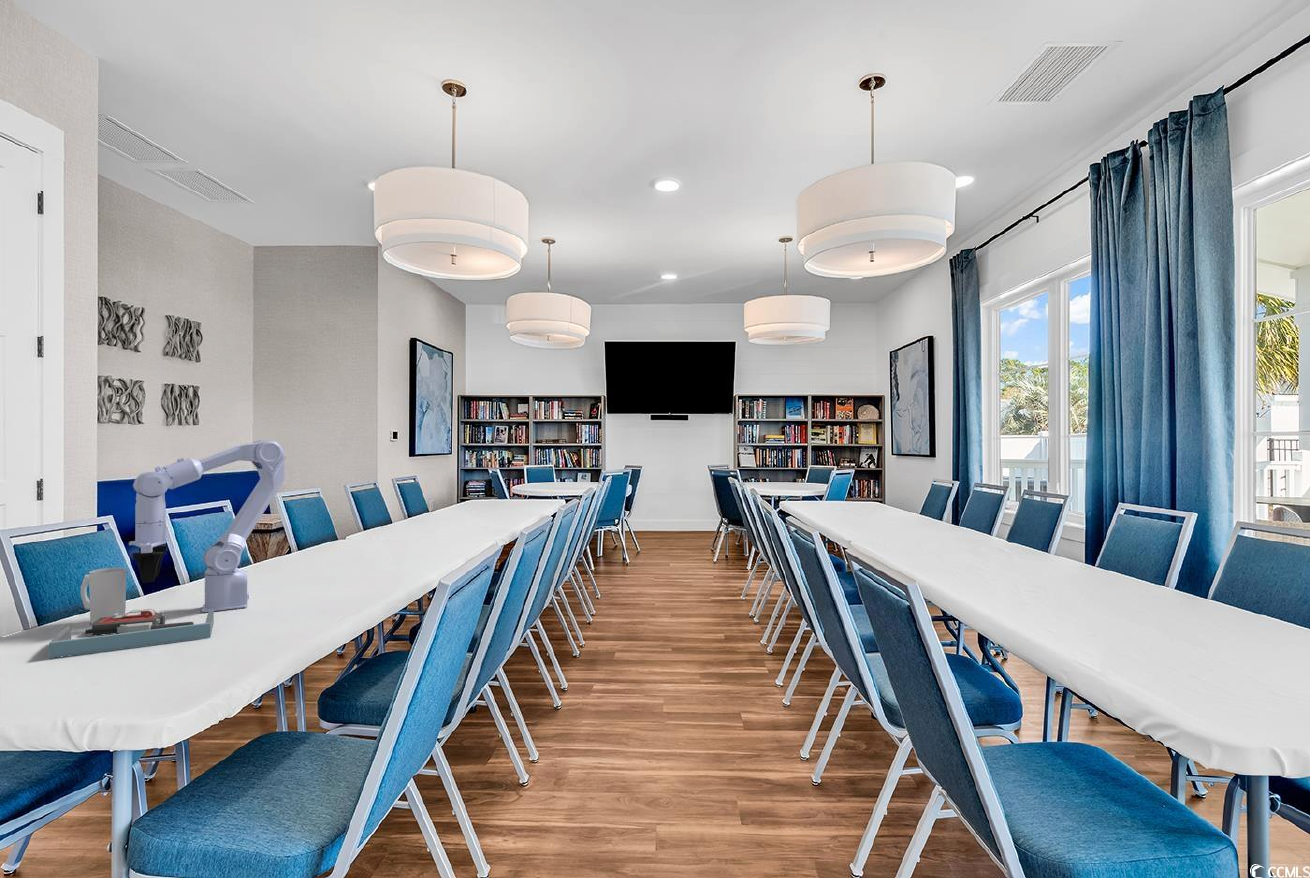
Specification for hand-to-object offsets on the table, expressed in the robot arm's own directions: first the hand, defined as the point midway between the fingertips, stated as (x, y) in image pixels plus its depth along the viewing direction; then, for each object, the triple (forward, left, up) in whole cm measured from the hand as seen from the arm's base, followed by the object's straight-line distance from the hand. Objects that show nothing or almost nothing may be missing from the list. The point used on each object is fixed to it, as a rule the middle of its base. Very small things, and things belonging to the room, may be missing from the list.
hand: (150, 579), depth 155 cm
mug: (+10, -4, -10) cm, 14 cm away
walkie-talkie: (0, +9, -10) cm, 14 cm away
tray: (0, +18, -9) cm, 21 cm away
